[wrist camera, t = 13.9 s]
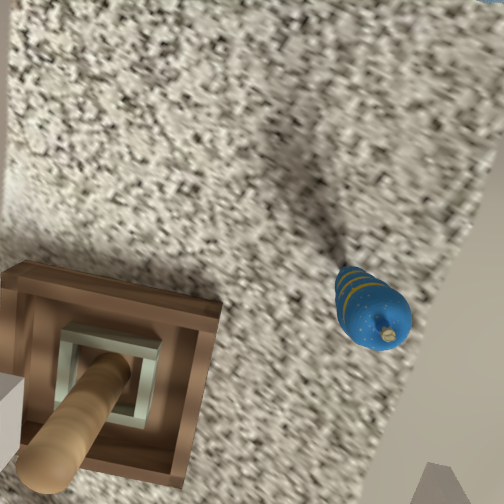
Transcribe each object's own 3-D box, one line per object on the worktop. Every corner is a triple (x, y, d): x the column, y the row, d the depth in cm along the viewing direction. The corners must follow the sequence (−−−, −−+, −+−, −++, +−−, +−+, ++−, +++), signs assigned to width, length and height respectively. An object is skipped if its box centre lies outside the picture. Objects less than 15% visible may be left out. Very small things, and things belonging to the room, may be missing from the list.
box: (25, 260, 42) (1, 272, 38) (222, 302, 43) (218, 319, 39) (15, 425, 48) (-7, 450, 44) (188, 461, 48) (182, 489, 45)
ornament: (315, 251, 41) (342, 313, 26) (366, 239, 40) (422, 296, 26) (325, 297, 42) (356, 381, 28) (375, 287, 42) (433, 366, 27)
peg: (93, 349, 44) (17, 442, 31) (133, 357, 44) (74, 454, 31) (89, 383, 45) (14, 487, 32) (128, 391, 45) (69, 498, 32)
